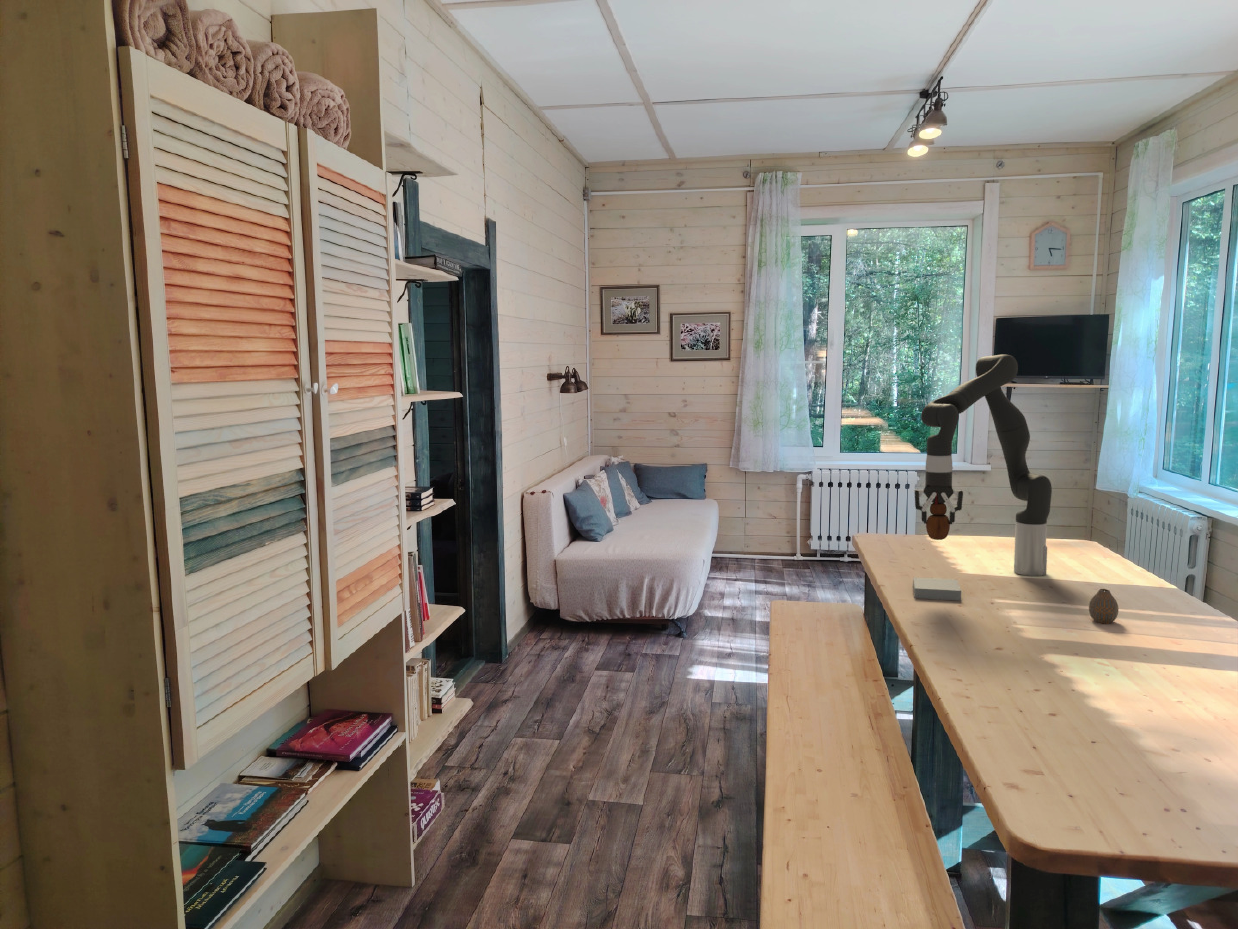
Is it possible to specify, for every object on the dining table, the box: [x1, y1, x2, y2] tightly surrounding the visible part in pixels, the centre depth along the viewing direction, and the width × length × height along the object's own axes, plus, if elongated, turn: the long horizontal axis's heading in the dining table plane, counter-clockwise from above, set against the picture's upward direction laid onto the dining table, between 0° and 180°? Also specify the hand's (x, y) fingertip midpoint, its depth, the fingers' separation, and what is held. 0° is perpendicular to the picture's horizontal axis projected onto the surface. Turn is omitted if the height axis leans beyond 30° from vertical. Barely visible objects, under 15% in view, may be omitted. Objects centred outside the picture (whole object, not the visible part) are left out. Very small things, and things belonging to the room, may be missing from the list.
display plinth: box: [912, 576, 962, 602], centre depth 249 cm, size 13×13×3 cm
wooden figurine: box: [925, 491, 951, 541], centre depth 246 cm, size 7×6×15 cm
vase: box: [1088, 588, 1120, 624], centre depth 219 cm, size 7×7×9 cm
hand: (937, 523), depth 247 cm, fingers closed on wooden figurine, 6 cm apart
